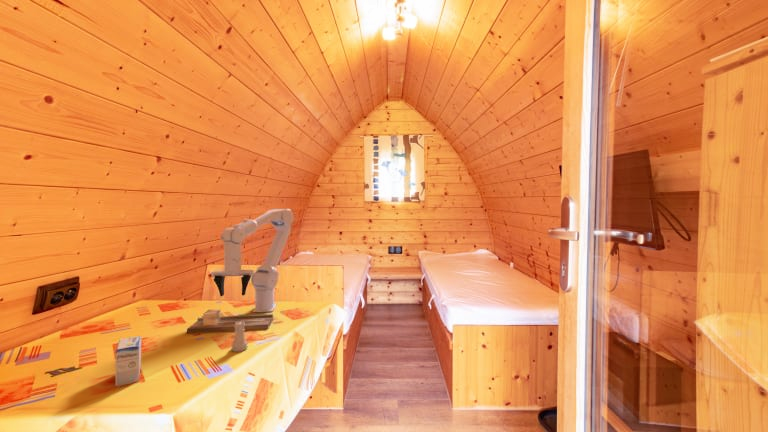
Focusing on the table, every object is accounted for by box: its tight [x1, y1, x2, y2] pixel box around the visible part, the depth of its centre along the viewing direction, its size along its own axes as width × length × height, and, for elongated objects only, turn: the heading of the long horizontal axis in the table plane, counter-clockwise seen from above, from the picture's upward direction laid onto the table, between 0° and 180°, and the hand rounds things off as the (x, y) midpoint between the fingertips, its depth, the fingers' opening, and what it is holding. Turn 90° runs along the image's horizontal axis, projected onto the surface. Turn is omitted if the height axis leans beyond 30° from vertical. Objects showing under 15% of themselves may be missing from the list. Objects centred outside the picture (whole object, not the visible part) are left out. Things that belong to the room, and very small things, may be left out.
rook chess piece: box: [231, 321, 248, 353], centre depth 94 cm, size 4×4×8 cm
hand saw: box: [44, 365, 83, 378], centre depth 88 cm, size 24×5×1 cm, turn 144°
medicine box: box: [114, 335, 142, 387], centre depth 77 cm, size 8×4×9 cm, turn 35°
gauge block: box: [202, 308, 222, 325], centre depth 112 cm, size 5×4×4 cm
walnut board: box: [186, 313, 274, 334], centre depth 113 cm, size 10×26×2 cm, turn 99°
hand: (232, 295), depth 120 cm, fingers open, 7 cm apart
